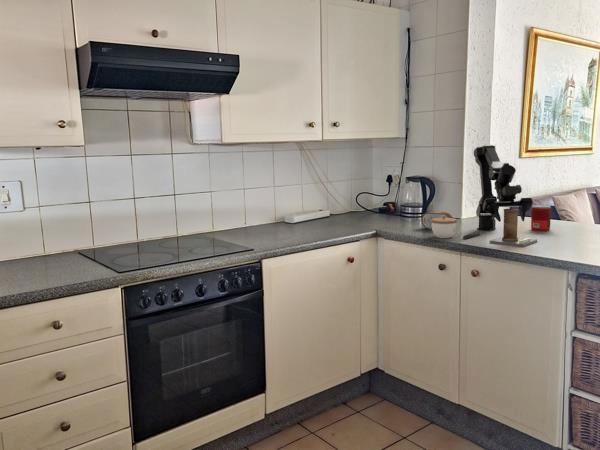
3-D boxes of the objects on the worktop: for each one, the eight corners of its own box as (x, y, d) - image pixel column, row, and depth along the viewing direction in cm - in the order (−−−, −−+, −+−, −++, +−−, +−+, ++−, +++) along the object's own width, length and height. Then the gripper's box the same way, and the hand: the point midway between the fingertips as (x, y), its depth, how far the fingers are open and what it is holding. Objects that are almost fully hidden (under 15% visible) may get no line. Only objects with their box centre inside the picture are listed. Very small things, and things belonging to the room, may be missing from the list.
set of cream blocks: (519, 243, 210) (519, 240, 209) (527, 240, 215) (527, 237, 215) (522, 243, 209) (523, 240, 208) (530, 240, 214) (530, 237, 214)
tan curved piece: (453, 229, 251) (453, 212, 250) (451, 230, 249) (451, 213, 248) (423, 227, 260) (423, 210, 259) (420, 228, 258) (420, 211, 256)
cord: (465, 239, 226) (465, 235, 226) (462, 239, 227) (462, 235, 227) (480, 235, 235) (480, 231, 235) (477, 234, 237) (477, 231, 236)
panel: (489, 243, 217) (489, 240, 217) (503, 238, 226) (503, 235, 226) (523, 246, 207) (523, 244, 207) (537, 241, 216) (537, 239, 216)
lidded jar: (427, 238, 233) (427, 216, 231) (436, 234, 242) (436, 213, 240) (451, 239, 227) (451, 218, 225) (459, 235, 236) (460, 214, 234)
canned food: (551, 231, 239) (552, 206, 237) (532, 231, 241) (533, 207, 239) (547, 228, 247) (548, 204, 245) (529, 228, 248) (530, 204, 246)
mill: (498, 239, 219) (499, 209, 217) (510, 238, 221) (511, 208, 219) (509, 242, 213) (509, 210, 211) (521, 240, 215) (522, 209, 213)
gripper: (485, 178, 217) (492, 209, 208) (532, 177, 216) (541, 208, 207) (479, 196, 226) (486, 226, 217) (524, 195, 225) (533, 225, 216)
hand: (511, 221), depth 214 cm, fingers open, 9 cm apart
